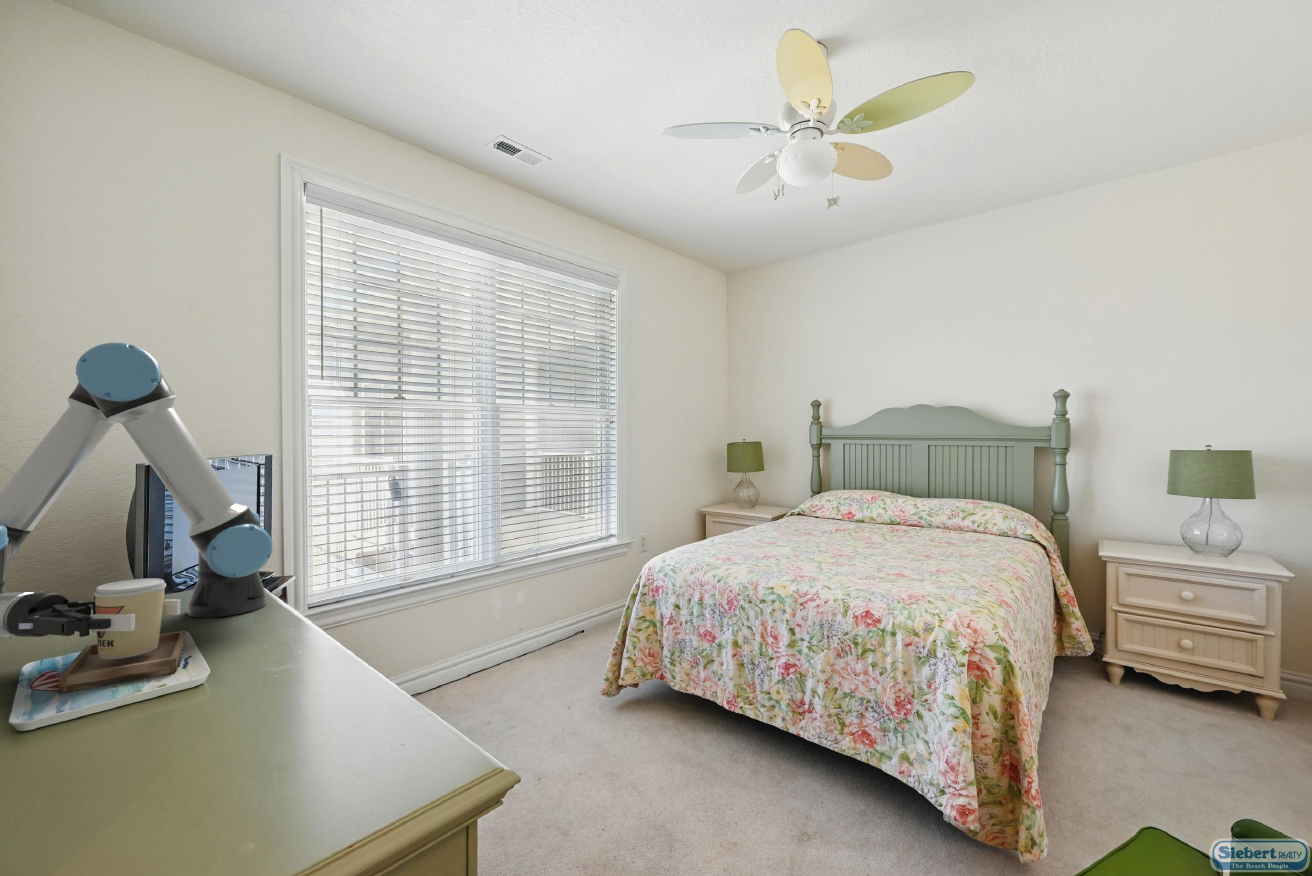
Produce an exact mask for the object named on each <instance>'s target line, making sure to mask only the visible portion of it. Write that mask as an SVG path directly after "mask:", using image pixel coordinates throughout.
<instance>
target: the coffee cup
mask: <svg viewBox="0 0 1312 876" xmlns="http://www.w3.org/2000/svg"><path fill="white" fill-rule="evenodd" d="M166 587H167V583H166V582H165V580H164V579H162V578H152V577H151V578H150V577H149V578H148V577H147V578H136V579H135V578H134V579H127V580H126V579H125V580H119V581H113V582H108V583H104V584H102V585H98V586H97V587H96V589H95V590H94V591H93V596H94V597H95V598H94V599H95V607H96V614H135V630H133V631H96V640H97V642H96V644H98V655H99V658H101V659H119V658H126V657H132V656H137V655H141V654H144V653H147V652H150V651H152V650H154V649H156V648H157V647H158V642H159V635H160V633H161V628H162V627H161V626H162V617H163V615H162V610H163V601H164V599H165V588H166Z"/></svg>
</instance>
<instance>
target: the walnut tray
mask: <svg viewBox="0 0 1312 876" xmlns="http://www.w3.org/2000/svg"><path fill="white" fill-rule="evenodd" d="M185 642H186V643H187V630H181V631H175V632H167V633H161V634H160V635H159V642H158V647H157V648H156V649H154V650H152V651H150V652H147V653H144V654H141V655H137V656H132V657H126V658H119V659H101V658H99V655H98V643H92V644H86V645H85V647H84V648H83V649H82V650H81V651H80V652H79V654H78V655H77V656H76V657H75V658H74V660H73V661H72V662H71V663H70V665H69V666H68V667H67V668H66V669H65V670H64V671H63V673H62V674H61V675H60V676H59V679H58V693H59V692H65V693H71V692H76V691H81V690H82V691H83V690H87V689H88V690H89V689H93V688H97V687H98V688H99V687H104V686H108V685H114V684H120V683H126V682H132V681H137V680H143V679H149V678H154V677H153V676H155V677H157V676H156V675H160V676H163V675H162V674H166V675H168V674H167V673H171V674H176V673H177V671H178V667H179V665H180V662H181V659H182V656H183V653H184V650H185V647H184V645H185ZM185 646H186V645H185ZM183 649H184V650H183ZM182 652H183V653H182ZM181 655H182V656H181ZM180 658H181V659H180ZM179 661H180V662H179ZM178 664H179V665H178ZM175 672H176V673H175ZM148 677H149V678H148ZM70 691H71V692H70Z"/></svg>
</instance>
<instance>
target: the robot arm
mask: <svg viewBox="0 0 1312 876" xmlns="http://www.w3.org/2000/svg"><path fill="white" fill-rule="evenodd" d="M75 374H76V376H77V377H76V378H77V381H78V383H76V384H77V385H76V386H75V388H74V390H73V391H72V392H71V394H70V395H69V396H68V397H67V399H66V400H67V403H68V405H69V406H68V407H67V409H66V410H65V411H64V413H62V415H61V416H60V417H59V419H57V421H56V423H55V424H54V425H53V426H52V428H51V429H50V430H49V431H48V432H47V434H45V436H44V437H43V438H42V439H41V441H40V442H39V444H38V445H37V446H36V447H35V449H34V450H33V451H32V452H31V454H30V455H29V456H28V457H27V459H26V460H25V461H24V462H23V464H22V465H21V466H20V467H19V469H18V470H17V471H16V472H15V474H14V475H12V477H11V479H10V480H9V481H8V483H6V485H5V486H4V487H3V489H2V490H0V637H5V640H13V639H14V638H15V637H22V638H25V637H26V638H27V637H28V638H31V637H32V638H33V637H34V638H36V637H37V638H38V637H39V638H40V637H41V638H42V637H47V636H49V635H51V636H62V637H70V636H73V635H75V632H77V633H79V638H84V637H88V636H90V630H91V632H97V631H133V630H135V614H96V607H95V598H93V600H80V599H79V600H71V601H70V600H68V598H67V597H66V596H65V595H63V594H62V593H58V592H34V591H33V592H23V591H22V592H5V591H6V582H7V581H6V576H7V575H6V574H7V573H6V572H7V563H8V562H9V561H10V560H11V559H13V558H14V557H15V556H16V554H17V553H18V552H19V550H20V547H21V546H22V545H23V543H24V542H25V541H26V540H27V538H28V537H29V536H30V534H31V533H32V531H33V530H34V529H35V527H36V526H37V525H38V524H39V522H40V520H42V518H43V517H44V516H45V514H46V513H47V511H48V510H49V509H50V508H51V506H52V505H53V504H54V503H55V501H56V500H57V499H58V497H59V496H60V495H61V494H62V492H63V491H64V490H65V488H66V487H67V486H68V485H69V484H70V482H71V480H72V479H73V478H74V476H75V475H76V474H77V472H78V471H80V469H81V467H82V466H83V465H84V463H85V462H86V461H87V460H88V459H89V457H90V456H91V454H92V453H93V452H94V450H95V449H96V448H97V447H98V445H99V444H100V443H101V441H102V440H103V439H104V438H105V436H106V434H108V432H109V431H110V430H111V429H112V428H113V426H114V425H115V424H120V425H121V426H123V428H124V429H125V431H126V432H127V433H128V435H129V436H130V438H131V439H132V440H133V442H134V443H135V445H136V446H137V447H138V449H139V451H140V452H141V453H142V455H143V456H144V457H145V460H147V462H148V464H149V465H150V467H151V468H152V469H153V470H154V472H155V474H156V475H157V476H158V477H159V479H160V480H161V482H162V483H163V485H164V486H165V488H166V489H167V491H168V492H169V494H170V495H171V497H172V498H173V499H174V500H175V502H176V503H177V505H178V508H180V510H181V511H182V512H183V514H184V515H185V517H186V519H188V521H189V522H190V528H189V530H188V533H187V535H188V536H189V538H190V540H191V541H192V542H193V544H194V545H195V547H196V548H197V549H198V562H197V563H198V565H197V569H198V570H197V571H198V572H197V582H196V584H195V587H194V589H193V591H192V593H191V597H190V599H189V601H188V603H187V612H186V613H187V616H188V617H193V618H199V619H200V618H205V619H206V618H218V617H226V616H236V615H238V614H244V613H249V612H252V611H256V610H258V609H261V608H263V607H265V606H266V605H267V593H266V589H265V587H264V585H263V582H262V580H261V577H260V574H259V571H260V569H262V568H263V567H265V565H266V564H267V563H268V561H269V560H270V558H271V556H272V552H273V547H274V545H273V539H272V537H271V535H270V534H269V532H268V531H267V530H265V529H264V528H263V527H262V526H261V520H260V515H259V514H258V513H257V512H252V511H251V509H250V507H249V506H248V505H245V504H239V503H238V502H237V503H236V501H235V499H234V498H233V496H232V495H231V494H230V491H229V490H228V489H227V488H226V487H227V486H225V484H224V482H223V481H222V480H221V478H220V477H219V475H218V473H217V472H216V471H215V469H214V468H213V466H212V465H211V464H210V462H209V460H208V459H207V457H206V455H205V453H204V452H203V451H202V449H201V448H200V447H199V445H198V443H197V442H196V440H195V439H194V437H193V436H192V434H191V432H190V431H189V430H188V428H187V427H186V425H185V424H184V422H183V420H182V418H180V416H179V414H178V413H177V411H176V410H175V408H174V402H175V400H176V398H177V396H176V394H175V391H173V390H172V388H171V386H170V384H169V383H168V382H167V380H166V378H165V377H164V376H163V373H162V372H161V369H160V365H159V363H158V361H157V360H156V358H155V357H154V356H153V355H152V354H150V353H149V352H148V351H146V350H145V349H142V348H141V347H139V346H136V345H133V344H130V343H124V342H106V343H102V344H98V345H95V346H93V347H91V348H89V349H88V350H86V351H85V352H84V353H82V354H81V356H80V357H79V358H78V360H77V363H76V366H75ZM181 604H182V600H181V599H180V598H179V599H175V598H174V599H167V598H164V601H163V610H162V616H178V615H181V610H182V609H181V607H182V605H181ZM91 614H92V615H91Z"/></svg>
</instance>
